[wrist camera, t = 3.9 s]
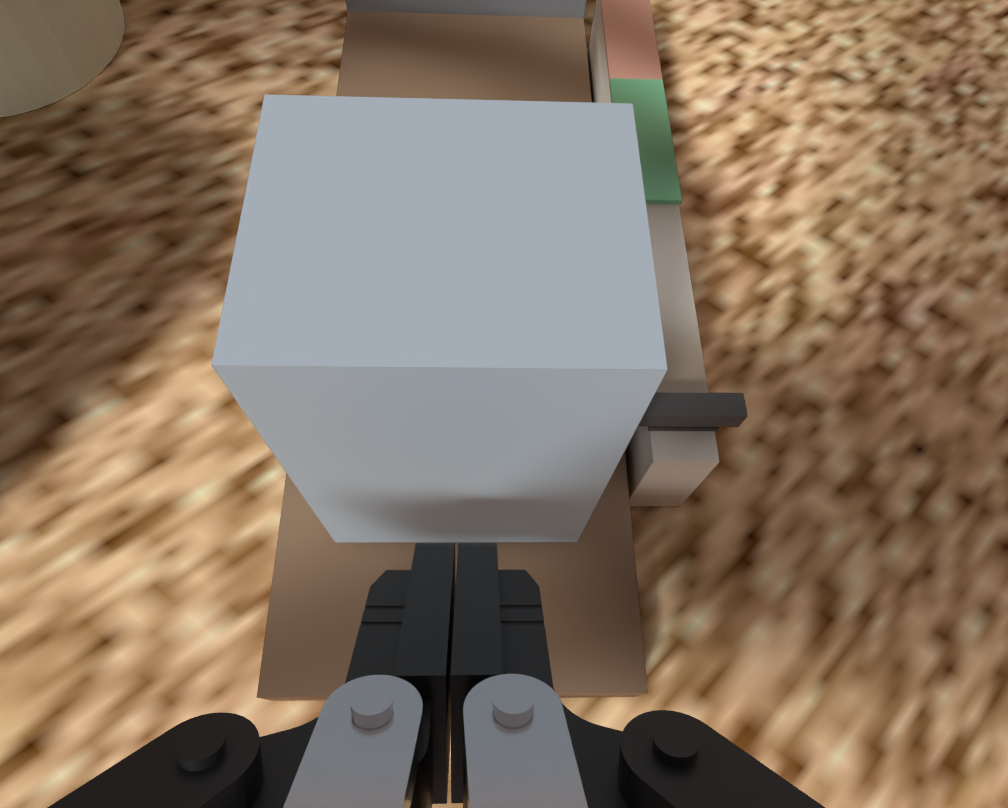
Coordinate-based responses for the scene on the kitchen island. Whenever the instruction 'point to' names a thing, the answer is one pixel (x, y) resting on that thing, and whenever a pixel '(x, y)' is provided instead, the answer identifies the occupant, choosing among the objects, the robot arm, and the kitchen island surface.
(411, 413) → the block
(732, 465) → the kitchen island surface
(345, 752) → the robot arm
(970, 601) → the kitchen island surface
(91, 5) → the reusable coffee cup
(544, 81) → the track
